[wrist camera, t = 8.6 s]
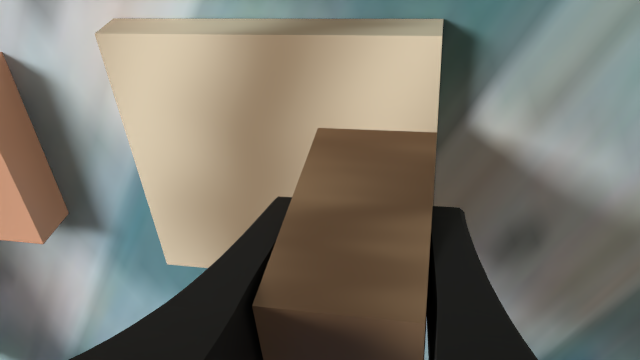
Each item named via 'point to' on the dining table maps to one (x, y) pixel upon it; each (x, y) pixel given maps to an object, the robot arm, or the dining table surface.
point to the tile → (24, 173)
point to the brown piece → (293, 165)
